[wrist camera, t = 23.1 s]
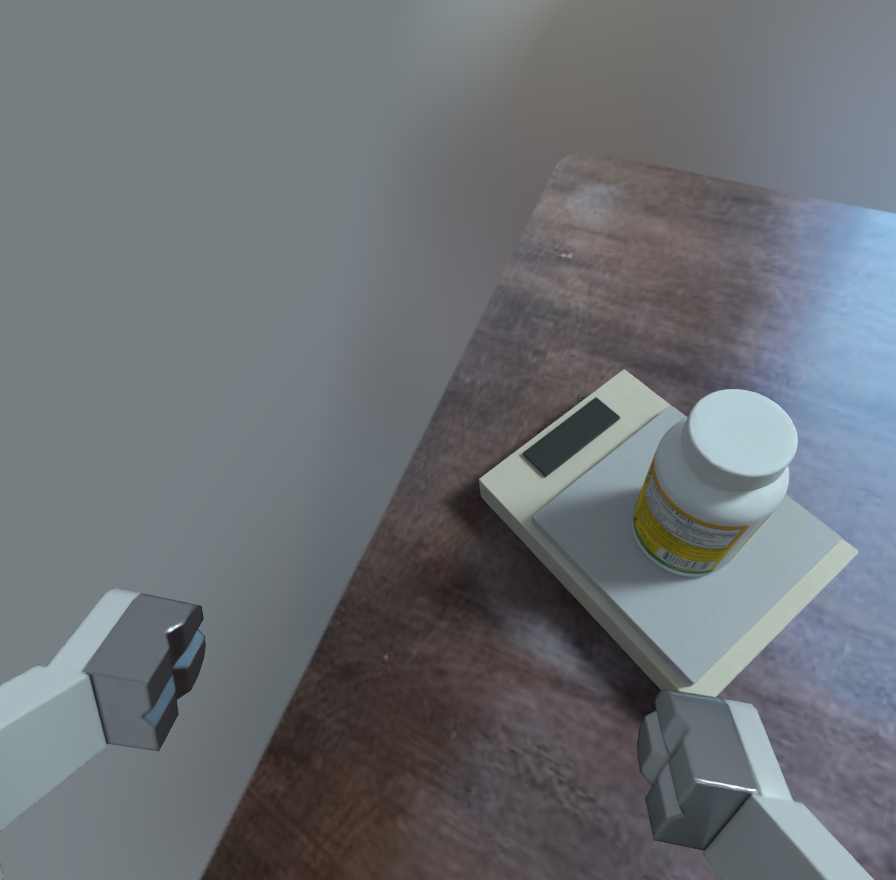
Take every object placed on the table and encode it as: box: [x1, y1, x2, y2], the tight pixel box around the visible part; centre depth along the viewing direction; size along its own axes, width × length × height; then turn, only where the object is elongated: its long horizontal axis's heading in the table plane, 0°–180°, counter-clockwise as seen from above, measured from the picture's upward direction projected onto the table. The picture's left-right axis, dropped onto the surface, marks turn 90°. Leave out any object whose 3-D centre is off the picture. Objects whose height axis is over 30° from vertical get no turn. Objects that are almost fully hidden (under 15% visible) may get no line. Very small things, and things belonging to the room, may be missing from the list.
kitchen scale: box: [479, 370, 859, 697], centre depth 33 cm, size 16×12×3 cm
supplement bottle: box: [632, 389, 798, 577], centre depth 27 cm, size 5×5×10 cm
